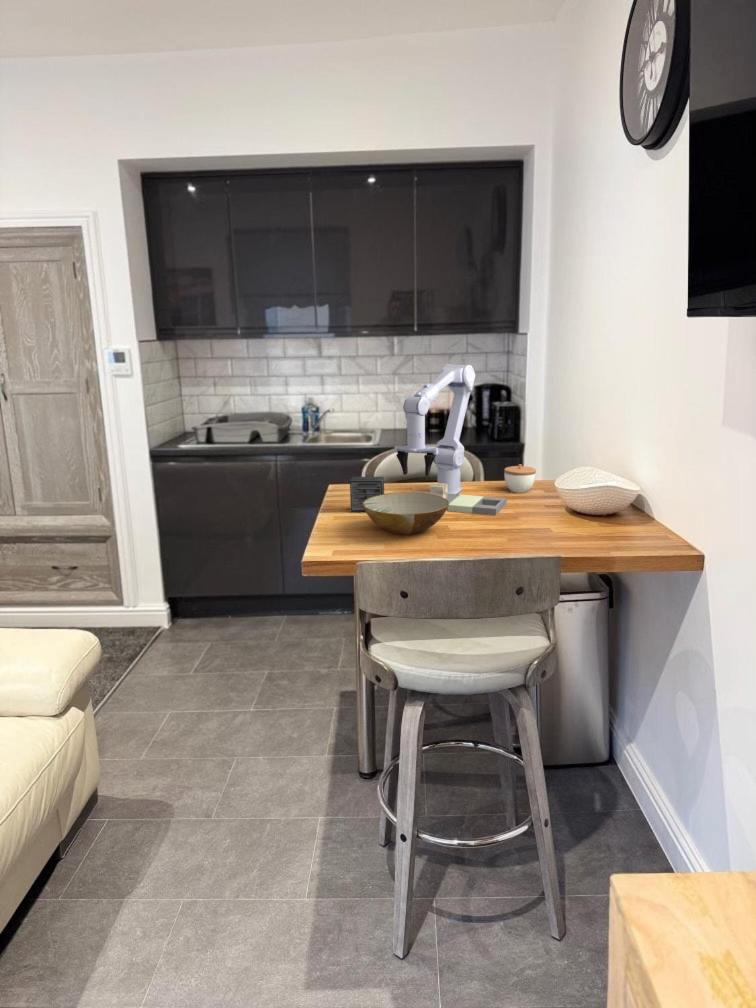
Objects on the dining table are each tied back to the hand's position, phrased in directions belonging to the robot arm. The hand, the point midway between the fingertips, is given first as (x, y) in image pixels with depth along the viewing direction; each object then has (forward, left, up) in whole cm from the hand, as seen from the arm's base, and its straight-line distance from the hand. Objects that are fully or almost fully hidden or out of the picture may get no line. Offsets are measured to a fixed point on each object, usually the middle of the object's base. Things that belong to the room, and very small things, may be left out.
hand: (416, 474), depth 237 cm
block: (0, +8, -7) cm, 11 cm away
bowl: (+30, +7, -10) cm, 32 cm away
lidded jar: (-27, +28, -10) cm, 41 cm away
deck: (0, +12, -9) cm, 16 cm away
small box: (+14, -12, -10) cm, 20 cm away
